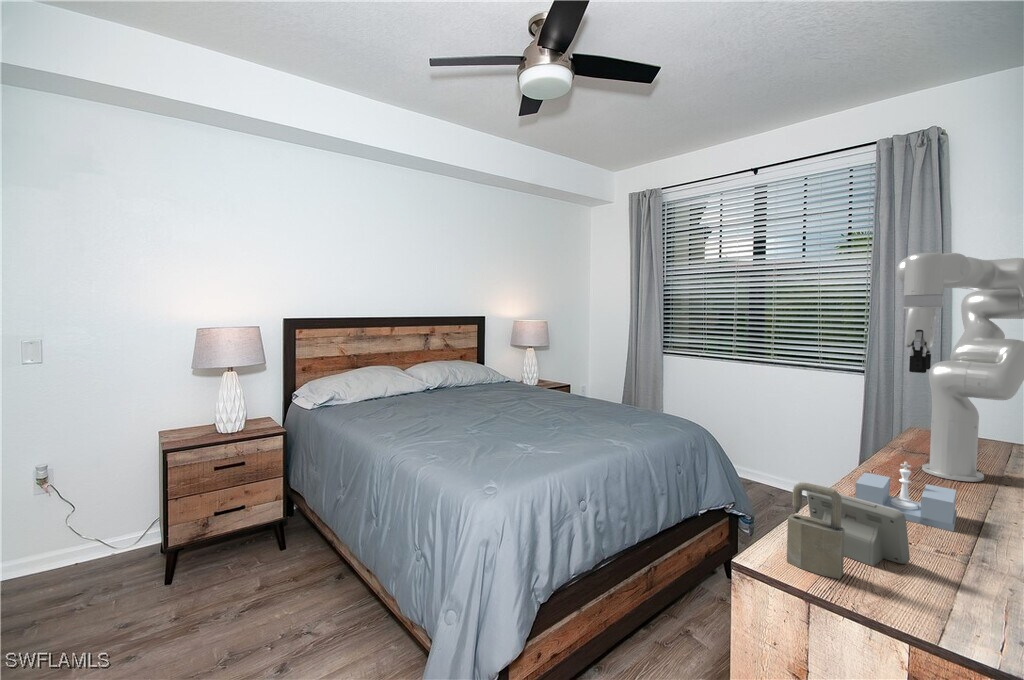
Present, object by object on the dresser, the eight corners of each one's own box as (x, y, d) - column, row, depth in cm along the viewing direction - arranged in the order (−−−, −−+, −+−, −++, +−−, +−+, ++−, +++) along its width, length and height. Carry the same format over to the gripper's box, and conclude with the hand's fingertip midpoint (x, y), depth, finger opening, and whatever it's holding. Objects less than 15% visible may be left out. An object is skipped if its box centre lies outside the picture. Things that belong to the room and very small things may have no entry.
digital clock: (916, 566, 85) (918, 508, 84) (885, 577, 81) (887, 517, 81) (825, 528, 100) (827, 479, 99) (796, 537, 96) (797, 485, 96)
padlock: (791, 555, 89) (794, 476, 88) (844, 572, 83) (847, 488, 82) (785, 563, 86) (787, 482, 85) (838, 581, 80) (841, 494, 79)
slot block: (862, 496, 117) (863, 472, 117) (956, 516, 105) (957, 490, 105) (853, 507, 110) (854, 482, 110) (953, 531, 98) (955, 503, 98)
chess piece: (920, 511, 104) (922, 466, 104) (892, 507, 107) (893, 463, 106) (915, 503, 108) (917, 460, 108) (888, 499, 111) (890, 457, 110)
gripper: (908, 303, 128) (905, 366, 129) (898, 302, 116) (896, 372, 117) (945, 303, 123) (942, 368, 124) (939, 302, 111) (936, 375, 112)
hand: (919, 370), depth 120 cm, fingers open, 9 cm apart
